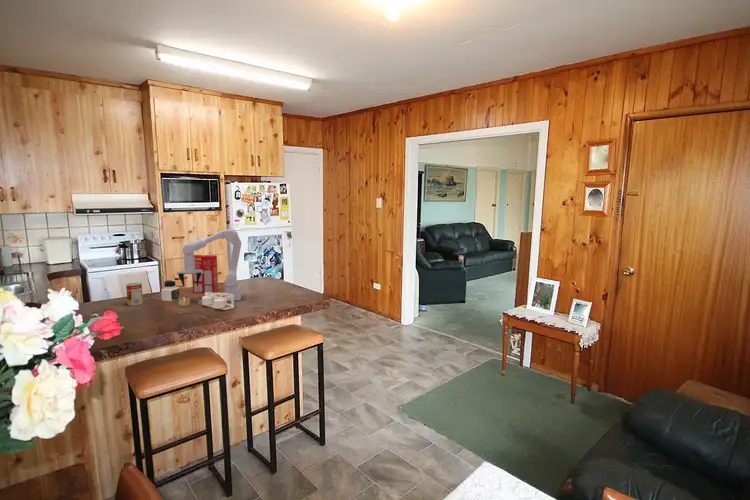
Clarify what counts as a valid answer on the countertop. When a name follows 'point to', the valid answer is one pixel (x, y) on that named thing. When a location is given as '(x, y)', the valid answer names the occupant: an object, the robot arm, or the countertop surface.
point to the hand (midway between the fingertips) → (190, 285)
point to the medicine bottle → (170, 291)
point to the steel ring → (200, 301)
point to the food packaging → (205, 274)
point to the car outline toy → (218, 300)
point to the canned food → (134, 293)
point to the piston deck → (184, 305)
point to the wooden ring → (184, 301)
